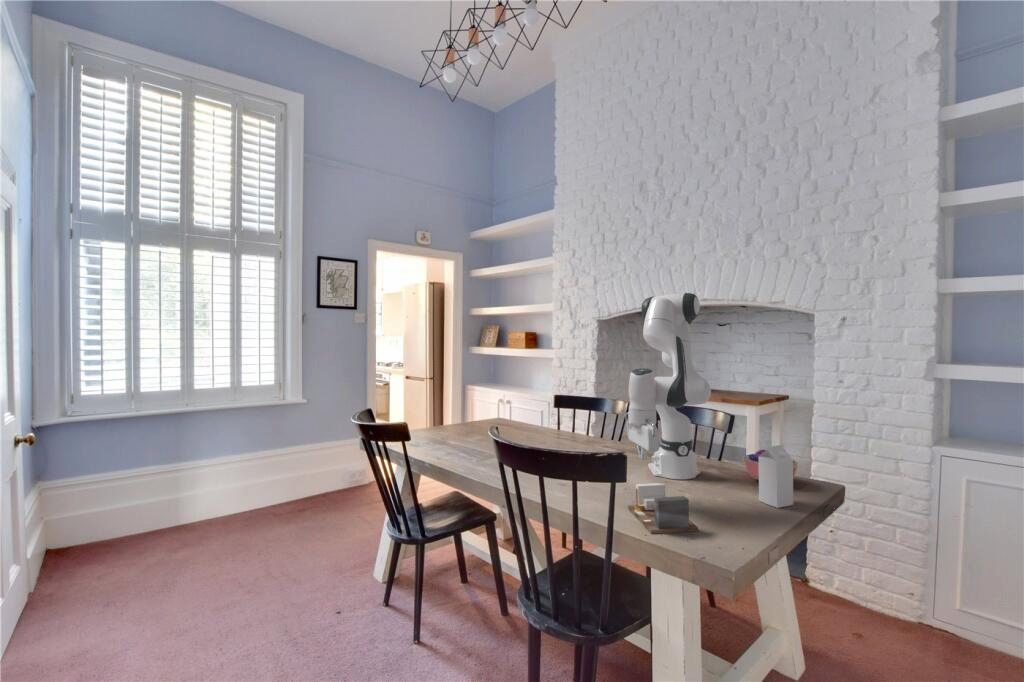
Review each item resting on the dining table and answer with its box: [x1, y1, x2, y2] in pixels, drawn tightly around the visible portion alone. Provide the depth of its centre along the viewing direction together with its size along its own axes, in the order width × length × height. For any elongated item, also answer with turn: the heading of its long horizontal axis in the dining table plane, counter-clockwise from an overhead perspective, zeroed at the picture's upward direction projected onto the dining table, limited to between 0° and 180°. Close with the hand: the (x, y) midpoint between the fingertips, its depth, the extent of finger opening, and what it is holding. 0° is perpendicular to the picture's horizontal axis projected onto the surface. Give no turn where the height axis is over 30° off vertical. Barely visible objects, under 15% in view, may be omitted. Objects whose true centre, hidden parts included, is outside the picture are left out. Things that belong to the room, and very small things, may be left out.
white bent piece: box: [635, 482, 666, 510], centre depth 152 cm, size 8×9×7 cm
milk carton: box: [758, 444, 794, 509], centre depth 158 cm, size 7×7×19 cm
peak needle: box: [635, 488, 644, 510], centre depth 151 cm, size 1×3×6 cm, turn 95°
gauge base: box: [627, 495, 699, 534], centre depth 147 cm, size 20×14×9 cm
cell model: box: [741, 449, 799, 481], centre depth 180 cm, size 17×20×11 cm
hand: (642, 459), depth 160 cm, fingers closed
